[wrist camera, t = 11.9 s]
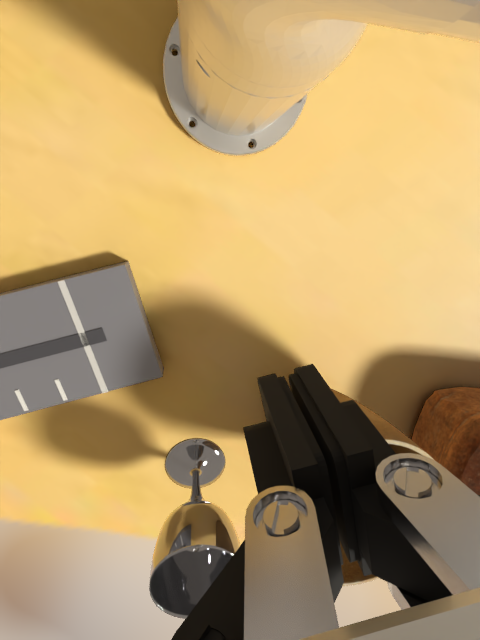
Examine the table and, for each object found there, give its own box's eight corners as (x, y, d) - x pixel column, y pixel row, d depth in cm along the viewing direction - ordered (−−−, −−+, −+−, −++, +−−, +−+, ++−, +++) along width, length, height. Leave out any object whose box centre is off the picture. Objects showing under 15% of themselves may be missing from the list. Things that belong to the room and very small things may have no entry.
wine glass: (223, 429, 45) (238, 538, 31) (233, 483, 47) (252, 606, 33) (155, 442, 44) (139, 559, 30) (169, 497, 47) (160, 628, 33)
